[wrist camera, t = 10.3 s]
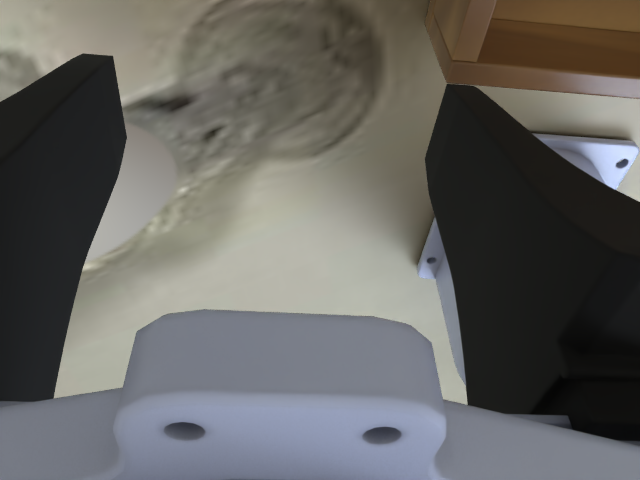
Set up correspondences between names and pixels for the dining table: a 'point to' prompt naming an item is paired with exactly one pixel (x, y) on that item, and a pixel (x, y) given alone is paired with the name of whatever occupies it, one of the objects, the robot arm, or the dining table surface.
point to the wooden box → (539, 44)
